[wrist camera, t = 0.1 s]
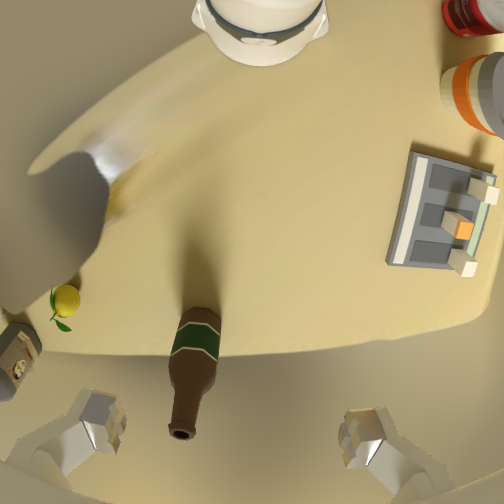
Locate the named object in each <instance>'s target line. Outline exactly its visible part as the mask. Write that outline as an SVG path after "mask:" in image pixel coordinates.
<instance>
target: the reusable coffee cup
mask: <svg viewBox="0 0 504 504" xmlns="http://www.w3.org/2000/svg"><path fill="white" fill-rule="evenodd" d="M440 95H441V99H442V101H443V104H444V106H445V107H446V109H447V110H448V111H449V112H450V113H451V114H452V115H453V116H455V117H457V118H459V119H462V120H464V121H466V122H467V123H468V124H469V125H471V126H473V127H475V128H477V129H479V130H482V131H484V132H486V133H488V134H490V135H494V136H498V137H500V138H501V139H503V140H504V52H494V53H492V54H490V55H481V56H478V57H475V58H471V59H468V60H466V61H463V62H462V63H461V64H459V65H458V66H455V67H452V68H450V69H448V70H447V71H445V73H444V74H443V75H442V78H441V81H440Z"/></svg>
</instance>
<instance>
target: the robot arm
mask: <svg viewBox="0 0 504 504" xmlns="http://www.w3.org/2000/svg"><path fill="white" fill-rule="evenodd" d="M192 21H193V23H194V24H195V25H196V26H197V27H199V28H201V29H202V30H204V31H206V32H207V33H208V34H209V36H210V37H211V39H212V40H213V42H214V43H215V45H216V46H217V47H218V48H219V49H220V50H221V51H222V52H223V53H224V54H225V55H227V56H228V57H230V58H231V59H233V60H235V61H238V62H240V63H244V64H247V65H253V66H269V65H275V64H279V63H282V62H284V61H287V60H289V59H290V58H292V57H294V56H295V55H296V54H298V53H299V52H300V51H301V50H302V49H303V48H304V47H305V46H306V45H307V44H308V43H309V42H310V41H312V40H314V39H317V38H319V37H322V36H324V35H325V34H326V33H327V32H328V29H329V24H328V18H327V11H326V5H325V0H197V2H196V5H195V8H194V10H193V13H192ZM122 404H123V401H122V397H121V396H118V395H113V394H109V393H105V392H101V391H97V390H93V389H89V388H85V387H83V388H82V389H81V390H80V392H79V393H78V395H77V397H76V398H75V400H74V402H73V404H72V406H71V408H70V409H69V411H68V413H67V415H66V416H61V417H59V418H57V419H55V420H54V421H52V422H50V423H48V424H46V425H44V426H42V427H40V428H38V429H37V430H35V431H33V432H31V433H29V434H27V435H25V436H24V437H21V438H19V439H18V440H17V442H16V443H15V445H14V447H13V449H12V450H11V452H10V454H9V456H8V458H7V459H6V461H5V462H3V461H1V460H0V504H111V503H108V502H104V501H101V500H97V499H94V498H91V497H88V496H85V495H82V494H79V493H75V492H73V491H72V490H73V488H72V486H71V484H70V483H69V482H68V480H67V479H66V478H65V475H67V474H68V473H69V472H71V471H72V470H73V469H74V468H76V467H77V466H78V465H79V464H81V463H82V462H83V461H85V460H86V459H87V458H88V457H90V456H91V455H92V454H93V453H94V452H95V451H99V452H103V453H108V454H112V455H116V454H117V451H118V448H119V445H120V443H121V442H120V439H119V436H120V435H122V434H123V433H124V431H125V427H126V413H125V410H124V409H123V408H122V407H121V406H122ZM344 417H345V422H344V423H342V424H341V426H340V428H339V434H338V439H339V445H340V447H341V448H342V449H343V450H345V451H344V453H343V455H342V457H343V460H344V464H345V468H346V469H352V468H361V467H367V469H368V470H369V471H370V472H371V473H372V474H373V475H374V476H375V477H376V478H377V479H378V480H379V481H380V482H381V483H382V484H383V485H384V486H385V487H387V488H388V489H389V490H390V491H391V492H392V493H393V494H394V495H395V496H394V497H393V498H392V500H390V502H389V503H388V504H504V468H502V469H500V470H498V471H496V472H494V473H492V474H490V475H487V476H485V477H483V478H481V479H478V480H476V481H474V482H471V483H469V484H466V485H464V486H461V487H458V488H456V487H455V485H454V483H453V480H452V478H451V476H450V474H449V472H448V470H447V467H446V465H445V464H443V463H442V462H440V461H439V460H437V459H435V458H434V457H432V456H431V455H429V454H428V453H426V452H425V451H424V450H422V449H421V448H419V447H418V446H416V445H415V444H413V443H412V442H410V441H409V440H407V439H406V438H404V437H400V436H399V434H398V431H397V429H396V427H395V425H394V422H393V420H392V418H391V416H390V414H389V411H388V409H387V408H386V407H379V408H367V409H357V410H348V411H347V412H346V414H345V416H344Z"/></svg>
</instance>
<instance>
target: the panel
mask: <svg viewBox="0 0 504 504" xmlns="http://www.w3.org/2000/svg"><path fill="white" fill-rule="evenodd" d="M496 177H497V176H496V175H494V174H492V173H489V172H485V171H482V170H479V169H476V168H473V167H469V166H466V165H462V164H459V163H455V162H452V161H448V160H445V159H441V158H437V157H433V156H429V155H425V154H421V153H417V152H413V151H410V153H409V159H408V164H407V170H406V175H405V180H404V185H403V190H402V195H401V200H400V204H399V209H398V213H397V217H396V222H395V226H394V230H393V234H392V238H391V242H390V245H389V249H388V253H387V257H386V260H385V262H386V263H387V264H388V265H391V266H405V267H419V268H434V269H448V270H454V269H453V268H452V267H451V266H450V265H449V264H448V263H447V262H448V259H449V256H450V253H451V249H452V248H453V249H462V250H465V251H466V252H467V253H468V254H469V255H470V256H471V257H473V258H474V256H475V253H476V250H477V247H478V244H479V241H480V238H481V235H482V232H483V228H484V225H485V221H486V218H487V214H488V211H489V207H490V204H488V203H484V202H482V201H481V200H479V199H477V198H475V197H473V196H472V195H470V194H468V193H467V191H468V187H469V183H470V178H475V179H479V180H482V181H484V182H486V183H489V184H491V185H493V186H495V182H496ZM445 211H450V212H456V213H459V214H460V215H462V216H463V217H465V218H466V219H468V220H469V221H471V222H472V223H474V226H473V229H472V232H471V236H470V239H469V240H464V239H457V238H455V237H454V236H452V235H451V234H450V233H449V232H447V231H446V230H445V229H444V228H442V227H441V224H442V220H443V216H444V212H445Z"/></svg>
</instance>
